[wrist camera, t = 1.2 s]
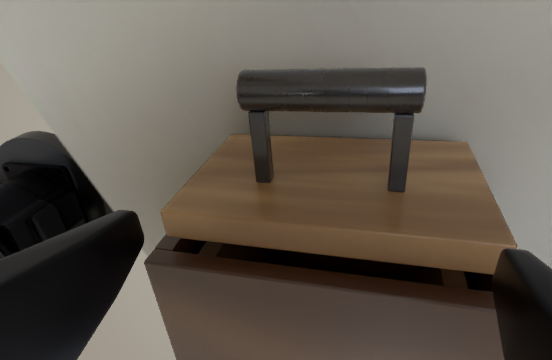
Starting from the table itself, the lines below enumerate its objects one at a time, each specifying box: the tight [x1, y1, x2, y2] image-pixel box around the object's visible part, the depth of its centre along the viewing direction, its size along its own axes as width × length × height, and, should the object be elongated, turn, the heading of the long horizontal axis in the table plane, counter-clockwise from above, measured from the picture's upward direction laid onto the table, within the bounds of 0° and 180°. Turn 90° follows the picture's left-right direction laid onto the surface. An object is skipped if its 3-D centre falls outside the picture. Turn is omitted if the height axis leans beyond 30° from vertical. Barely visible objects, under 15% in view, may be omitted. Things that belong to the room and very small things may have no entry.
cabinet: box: [144, 234, 504, 360], centre depth 19 cm, size 15×13×9 cm
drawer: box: [161, 67, 517, 289], centre depth 17 cm, size 18×11×7 cm, turn 4°
